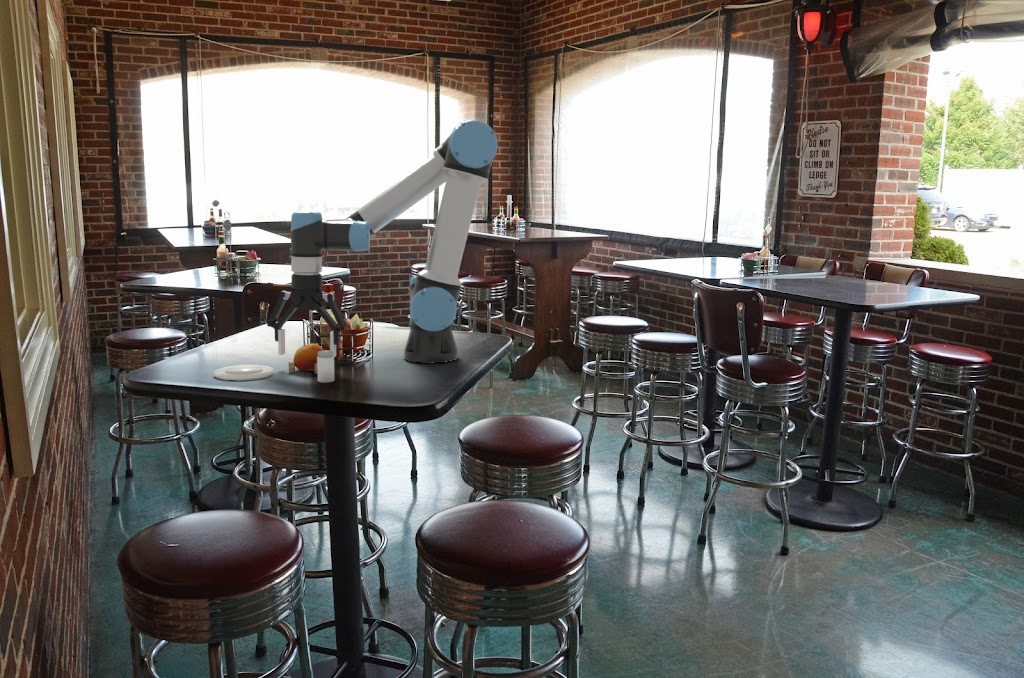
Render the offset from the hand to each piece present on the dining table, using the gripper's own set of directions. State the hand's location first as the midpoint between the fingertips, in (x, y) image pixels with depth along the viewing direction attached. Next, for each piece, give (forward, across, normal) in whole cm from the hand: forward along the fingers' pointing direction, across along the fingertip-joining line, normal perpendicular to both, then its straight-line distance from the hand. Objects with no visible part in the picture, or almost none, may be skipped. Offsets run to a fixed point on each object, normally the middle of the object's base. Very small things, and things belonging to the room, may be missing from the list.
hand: (307, 355), depth 209 cm
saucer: (+4, +14, +8) cm, 16 cm away
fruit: (+4, 0, 0) cm, 4 cm away
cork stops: (+4, 0, 0) cm, 4 cm away
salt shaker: (+4, -8, +11) cm, 14 cm away
